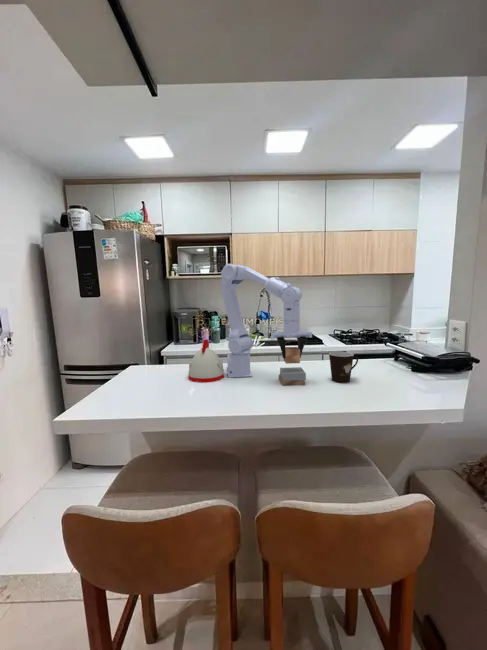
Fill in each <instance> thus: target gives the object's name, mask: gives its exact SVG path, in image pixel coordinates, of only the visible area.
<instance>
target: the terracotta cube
mask: <svg viewBox="0 0 487 650" xmlns="http://www.w3.org/2000/svg"><path fill="white" fill-rule="evenodd" d="M283 361H284V363H285V364H301V358H300V349H299V348H298V346H288V347H287V346H285V358H283Z"/></svg>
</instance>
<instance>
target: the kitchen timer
mask: <svg viewBox="0 0 487 650" xmlns="http://www.w3.org/2000/svg"><path fill="white" fill-rule="evenodd" d="M188 365H189V366H188V374H187V375H188V379H189V381H190V382H193V383H214V382H218V381H221V380H223V379H224V378H225V371H224V365H223V359H222V358H220V357H219V355H218V354H217V353H216V352H215V351H214V350H212V349H211V348H210V341H209V339H203V343H202V347H201V348H200V349H199V350H198V351H197V352H196V353H195V355H194V356H193V358H192V359H191V360H190V361H189V364H188Z"/></svg>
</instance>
